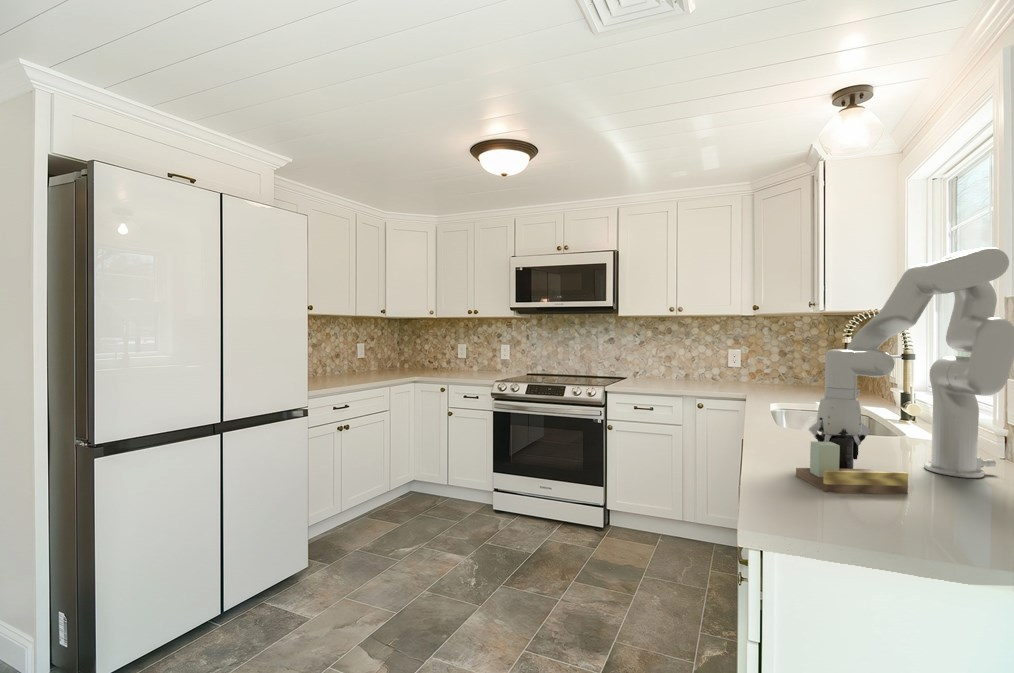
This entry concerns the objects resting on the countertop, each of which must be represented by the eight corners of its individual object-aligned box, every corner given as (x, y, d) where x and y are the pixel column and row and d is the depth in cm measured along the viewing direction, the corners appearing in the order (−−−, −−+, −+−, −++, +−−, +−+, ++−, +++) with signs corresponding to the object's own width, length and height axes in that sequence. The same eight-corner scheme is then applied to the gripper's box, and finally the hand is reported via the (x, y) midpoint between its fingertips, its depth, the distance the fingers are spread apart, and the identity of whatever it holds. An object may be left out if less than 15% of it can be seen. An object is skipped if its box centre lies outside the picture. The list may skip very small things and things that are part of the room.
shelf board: (869, 476, 138) (870, 457, 138) (907, 494, 124) (908, 473, 124) (796, 475, 139) (796, 456, 139) (825, 492, 125) (826, 471, 125)
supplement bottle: (844, 465, 149) (845, 423, 148) (858, 472, 142) (859, 428, 141) (819, 465, 149) (820, 423, 149) (831, 471, 142) (832, 428, 142)
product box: (829, 472, 135) (830, 441, 135) (838, 477, 131) (839, 445, 131) (809, 472, 135) (810, 441, 135) (818, 476, 131) (819, 445, 131)
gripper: (864, 392, 148) (862, 455, 149) (801, 391, 149) (799, 454, 150) (881, 396, 141) (879, 462, 141) (815, 395, 142) (813, 461, 142)
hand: (838, 457), depth 145 cm, fingers closed on supplement bottle, 6 cm apart
